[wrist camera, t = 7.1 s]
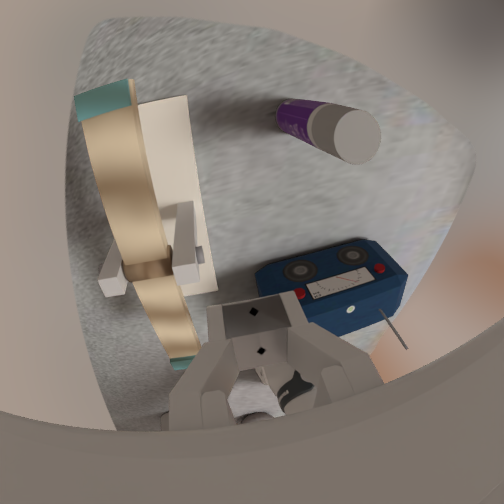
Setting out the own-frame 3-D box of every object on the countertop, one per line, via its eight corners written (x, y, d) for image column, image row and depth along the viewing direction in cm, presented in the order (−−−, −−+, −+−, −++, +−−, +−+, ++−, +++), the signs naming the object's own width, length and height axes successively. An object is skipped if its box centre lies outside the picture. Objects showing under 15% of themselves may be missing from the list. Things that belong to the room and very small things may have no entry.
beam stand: (217, 285, 42) (230, 362, 30) (150, 296, 41) (143, 374, 29) (186, 95, 27) (180, 93, 15) (98, 116, 25) (37, 138, 13)
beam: (203, 347, 35) (206, 365, 32) (172, 352, 34) (173, 370, 32) (137, 79, 16) (128, 78, 14) (86, 94, 15) (71, 97, 13)
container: (268, 124, 30) (321, 148, 18) (285, 92, 28) (350, 96, 16) (300, 140, 32) (364, 176, 20) (316, 109, 30) (391, 129, 18)
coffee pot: (270, 420, 79) (280, 458, 67) (236, 425, 77) (245, 464, 64) (283, 393, 68) (298, 439, 56) (243, 398, 66) (254, 447, 53)
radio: (372, 229, 43) (448, 309, 26) (367, 270, 48) (427, 349, 31) (251, 261, 41) (291, 375, 25) (259, 301, 46) (294, 406, 30)
